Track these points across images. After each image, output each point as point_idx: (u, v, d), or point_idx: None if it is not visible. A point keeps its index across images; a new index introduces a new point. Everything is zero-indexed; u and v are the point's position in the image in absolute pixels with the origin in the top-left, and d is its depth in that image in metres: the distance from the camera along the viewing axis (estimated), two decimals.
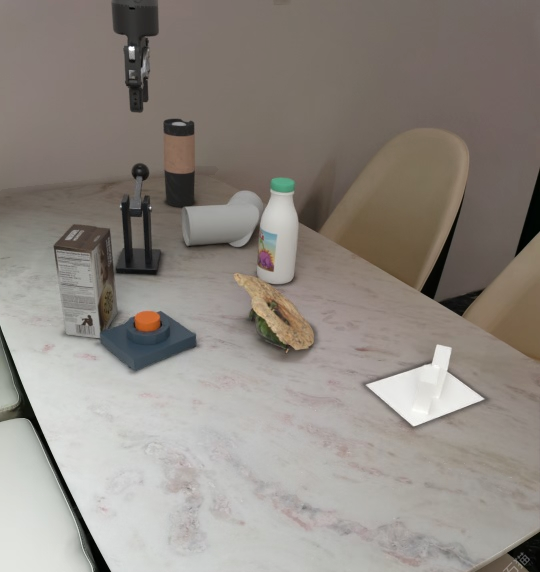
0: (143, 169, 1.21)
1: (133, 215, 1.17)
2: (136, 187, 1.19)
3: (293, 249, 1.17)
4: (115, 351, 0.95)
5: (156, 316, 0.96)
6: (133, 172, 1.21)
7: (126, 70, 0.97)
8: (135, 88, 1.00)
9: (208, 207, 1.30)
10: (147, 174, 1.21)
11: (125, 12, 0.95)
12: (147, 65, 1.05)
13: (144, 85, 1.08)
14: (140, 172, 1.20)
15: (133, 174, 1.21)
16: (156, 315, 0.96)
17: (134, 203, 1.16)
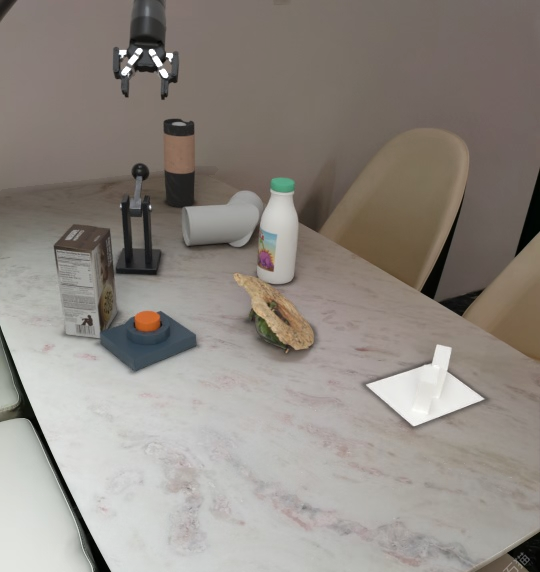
0: (143, 169, 1.21)
1: (133, 215, 1.17)
2: (136, 187, 1.19)
3: (293, 249, 1.17)
4: (115, 351, 0.95)
5: (156, 316, 0.96)
6: (133, 172, 1.21)
7: (177, 66, 1.26)
8: (170, 81, 1.27)
9: (208, 207, 1.30)
10: (147, 174, 1.21)
11: (164, 30, 1.28)
12: (136, 72, 1.28)
13: (128, 84, 1.26)
14: (140, 172, 1.20)
15: (133, 174, 1.21)
16: (156, 315, 0.96)
17: (134, 203, 1.16)
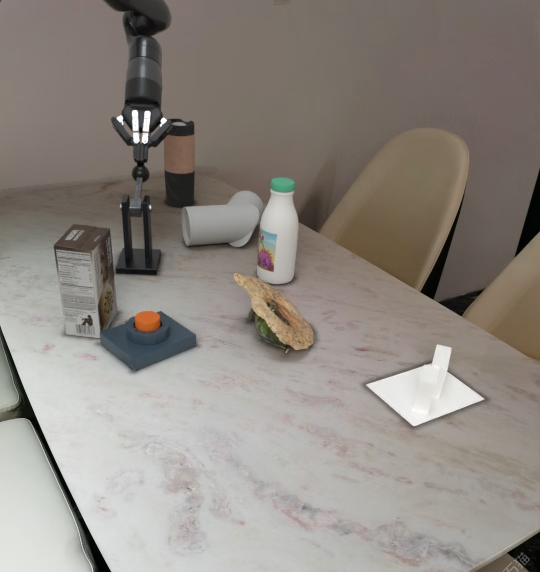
0: (143, 170, 1.21)
1: (133, 215, 1.17)
2: (136, 188, 1.19)
3: (293, 249, 1.17)
4: (115, 351, 0.95)
5: (156, 316, 0.96)
6: (133, 173, 1.21)
7: (161, 134, 1.22)
8: (149, 146, 1.23)
9: (208, 207, 1.30)
10: (147, 175, 1.22)
11: (160, 90, 1.24)
12: None
13: None
14: (140, 173, 1.21)
15: (133, 175, 1.21)
16: (156, 315, 0.96)
17: (134, 203, 1.16)
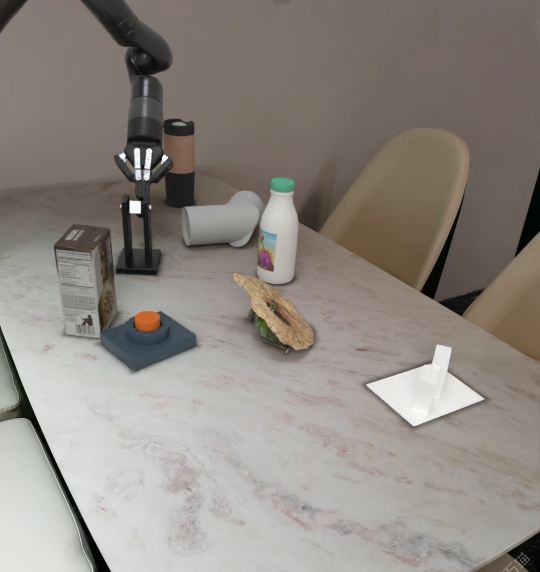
0: None
1: (132, 211, 1.16)
2: None
3: (293, 249, 1.17)
4: (115, 351, 0.95)
5: (156, 316, 0.96)
6: None
7: (162, 171, 1.26)
8: (151, 182, 1.27)
9: (208, 207, 1.30)
10: None
11: (161, 128, 1.28)
12: None
13: None
14: None
15: None
16: (156, 315, 0.96)
17: None
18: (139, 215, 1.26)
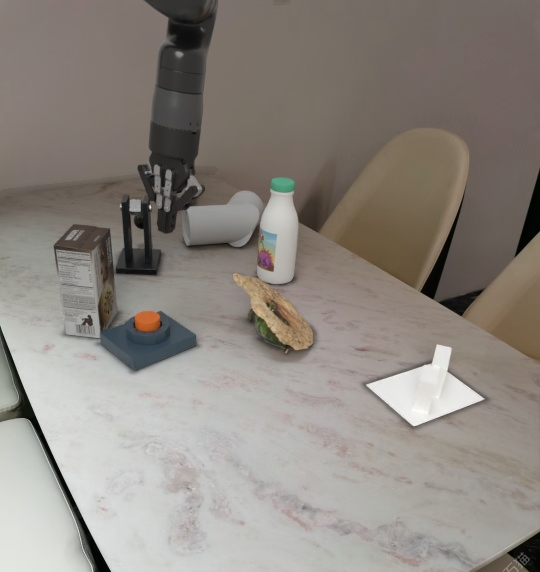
0: None
1: (132, 209, 1.15)
2: None
3: (293, 249, 1.17)
4: (115, 351, 0.95)
5: (156, 316, 0.96)
6: (135, 215, 1.26)
7: (184, 204, 0.92)
8: None
9: (208, 207, 1.30)
10: None
11: (187, 137, 0.87)
12: None
13: None
14: None
15: (135, 217, 1.26)
16: (156, 315, 0.96)
17: None
18: (139, 224, 1.26)
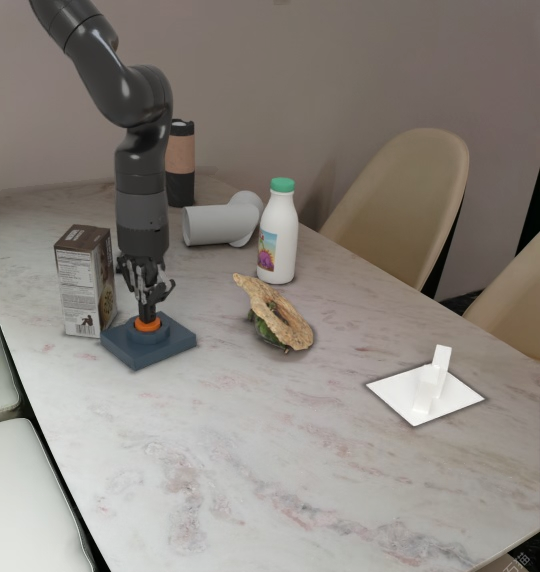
0: None
1: None
2: None
3: (293, 249, 1.17)
4: (115, 351, 0.95)
5: (156, 320, 0.96)
6: None
7: (156, 299, 0.90)
8: None
9: (208, 207, 1.30)
10: None
11: (150, 236, 0.84)
12: None
13: None
14: None
15: None
16: (156, 319, 0.97)
17: None
18: None
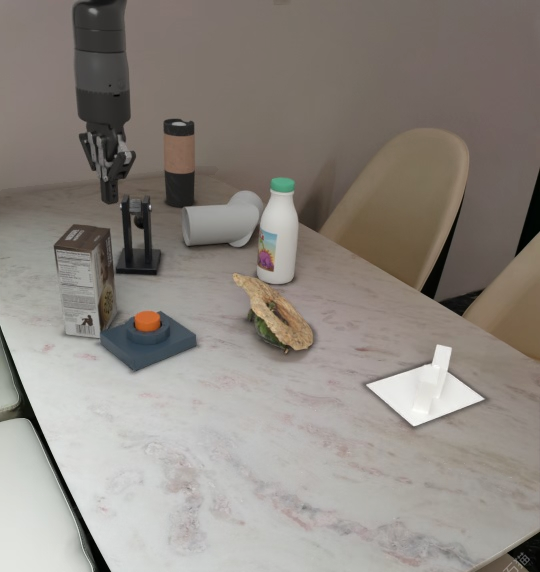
0: None
1: (132, 209, 1.15)
2: None
3: (293, 249, 1.17)
4: (115, 351, 0.95)
5: (156, 316, 0.96)
6: (135, 215, 1.26)
7: (116, 172, 0.88)
8: (115, 180, 0.91)
9: (208, 207, 1.30)
10: None
11: (109, 100, 0.83)
12: None
13: None
14: None
15: (135, 217, 1.26)
16: (156, 315, 0.96)
17: None
18: (139, 224, 1.26)
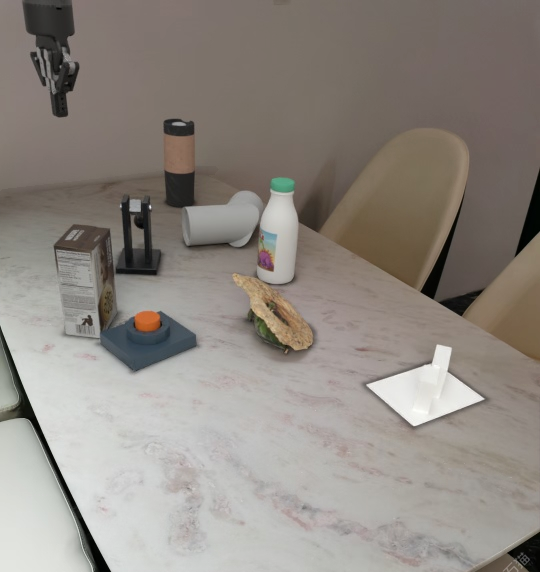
0: None
1: (132, 209, 1.15)
2: None
3: (293, 249, 1.17)
4: (115, 351, 0.95)
5: (156, 316, 0.96)
6: (135, 215, 1.26)
7: (63, 83, 0.97)
8: (63, 93, 1.01)
9: (208, 207, 1.30)
10: None
11: (52, 13, 0.92)
12: None
13: (61, 98, 1.02)
14: None
15: (135, 217, 1.26)
16: (156, 315, 0.96)
17: None
18: (139, 224, 1.26)
